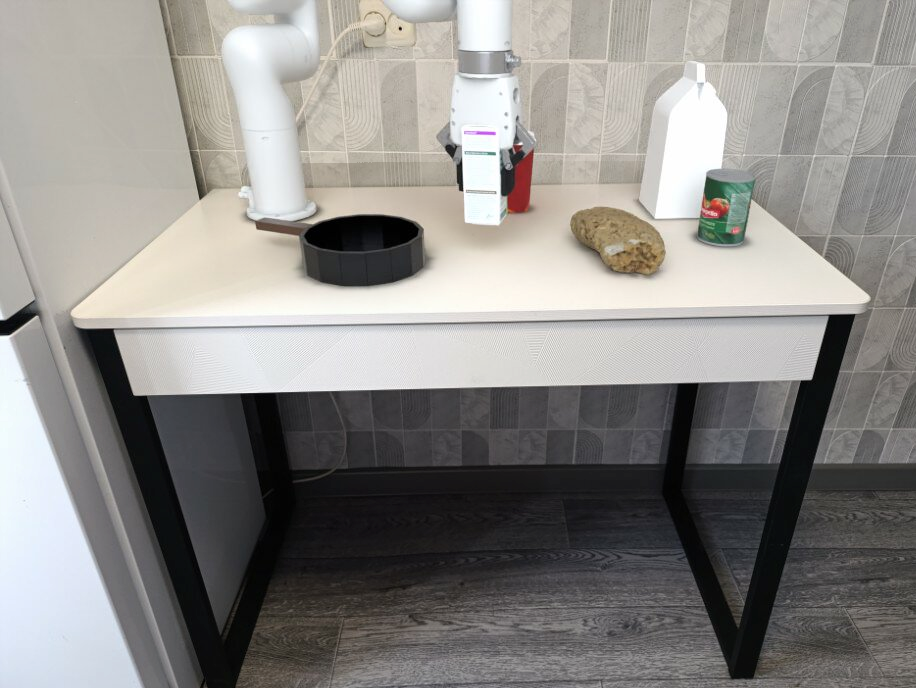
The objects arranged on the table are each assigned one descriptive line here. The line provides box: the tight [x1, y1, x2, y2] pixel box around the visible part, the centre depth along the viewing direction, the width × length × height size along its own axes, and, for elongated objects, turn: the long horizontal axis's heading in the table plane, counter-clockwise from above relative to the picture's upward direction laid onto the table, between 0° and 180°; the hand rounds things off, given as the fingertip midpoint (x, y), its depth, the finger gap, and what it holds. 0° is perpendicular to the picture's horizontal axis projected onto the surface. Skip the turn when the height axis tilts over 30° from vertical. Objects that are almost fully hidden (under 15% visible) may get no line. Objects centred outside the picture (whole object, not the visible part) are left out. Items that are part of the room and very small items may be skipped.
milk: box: [638, 60, 728, 220], centre depth 128 cm, size 12×12×26 cm
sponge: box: [569, 206, 667, 276], centre depth 110 cm, size 13×8×20 cm
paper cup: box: [507, 130, 537, 214], centre depth 130 cm, size 8×8×14 cm
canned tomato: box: [696, 168, 757, 248], centre depth 116 cm, size 8×8×11 cm
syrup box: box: [461, 125, 509, 226], centre depth 105 cm, size 6×6×14 cm
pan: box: [254, 213, 426, 287], centre depth 108 cm, size 28×18×5 cm, turn 68°
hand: (485, 190), depth 106 cm, fingers closed on syrup box, 6 cm apart
